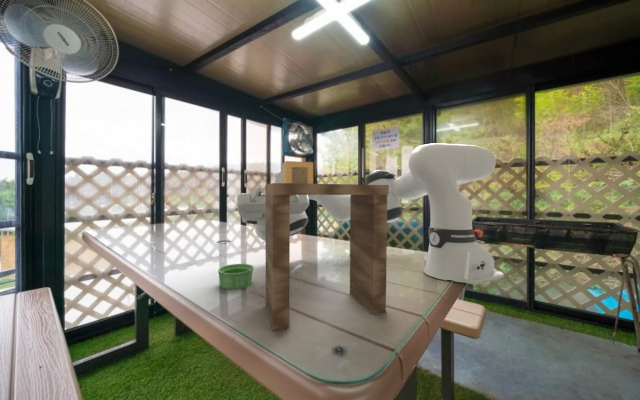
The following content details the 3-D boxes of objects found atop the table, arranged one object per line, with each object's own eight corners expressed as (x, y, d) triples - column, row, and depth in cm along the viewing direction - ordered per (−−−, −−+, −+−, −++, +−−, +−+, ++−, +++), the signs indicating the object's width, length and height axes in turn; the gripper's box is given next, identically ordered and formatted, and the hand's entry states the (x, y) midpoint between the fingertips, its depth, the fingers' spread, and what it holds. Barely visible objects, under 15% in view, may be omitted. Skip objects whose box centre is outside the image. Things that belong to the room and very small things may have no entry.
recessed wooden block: (290, 186, 66) (290, 171, 66) (313, 183, 48) (313, 162, 47) (271, 186, 65) (271, 170, 65) (286, 183, 46) (286, 161, 46)
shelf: (359, 291, 63) (360, 186, 63) (387, 313, 52) (388, 185, 51) (265, 304, 56) (265, 185, 56) (273, 332, 45) (273, 183, 44)
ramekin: (223, 293, 62) (223, 275, 62) (214, 283, 70) (214, 267, 69) (258, 285, 68) (258, 269, 67) (246, 276, 75) (246, 261, 75)
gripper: (304, 221, 81) (316, 200, 70) (237, 223, 75) (237, 200, 63) (302, 203, 84) (313, 180, 73) (236, 203, 78) (237, 178, 66)
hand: (277, 189), depth 68 cm, fingers open, 8 cm apart
